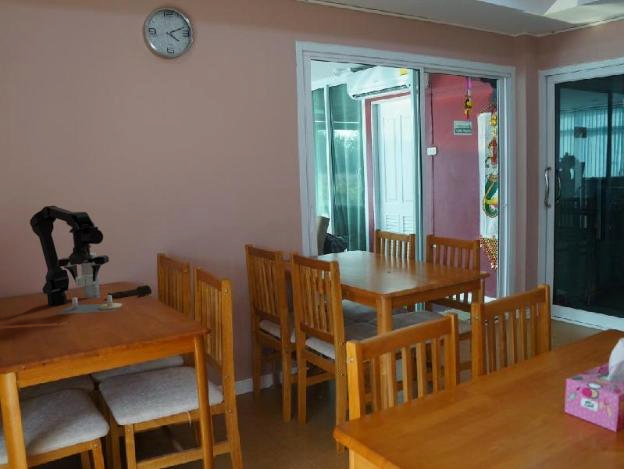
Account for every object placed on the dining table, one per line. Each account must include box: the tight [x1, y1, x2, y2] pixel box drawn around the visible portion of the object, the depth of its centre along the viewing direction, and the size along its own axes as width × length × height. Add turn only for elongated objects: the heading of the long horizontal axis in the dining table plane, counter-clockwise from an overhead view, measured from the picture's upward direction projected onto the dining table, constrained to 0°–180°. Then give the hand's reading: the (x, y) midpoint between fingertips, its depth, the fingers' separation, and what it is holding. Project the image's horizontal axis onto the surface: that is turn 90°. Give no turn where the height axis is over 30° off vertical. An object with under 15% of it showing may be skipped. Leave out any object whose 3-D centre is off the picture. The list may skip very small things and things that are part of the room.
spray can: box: [80, 252, 100, 299], centre depth 253 cm, size 6×6×20 cm
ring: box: [75, 275, 95, 287], centre depth 228 cm, size 7×7×3 cm
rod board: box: [58, 294, 125, 315], centre depth 230 cm, size 22×14×6 cm, turn 91°
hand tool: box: [107, 284, 153, 300], centre depth 251 cm, size 19×4×5 cm, turn 123°
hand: (85, 282), depth 228 cm, fingers closed on ring, 7 cm apart
